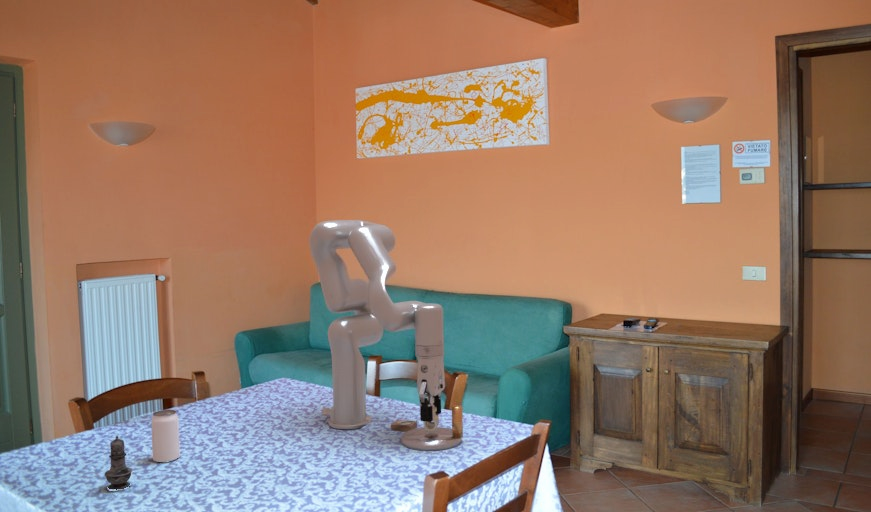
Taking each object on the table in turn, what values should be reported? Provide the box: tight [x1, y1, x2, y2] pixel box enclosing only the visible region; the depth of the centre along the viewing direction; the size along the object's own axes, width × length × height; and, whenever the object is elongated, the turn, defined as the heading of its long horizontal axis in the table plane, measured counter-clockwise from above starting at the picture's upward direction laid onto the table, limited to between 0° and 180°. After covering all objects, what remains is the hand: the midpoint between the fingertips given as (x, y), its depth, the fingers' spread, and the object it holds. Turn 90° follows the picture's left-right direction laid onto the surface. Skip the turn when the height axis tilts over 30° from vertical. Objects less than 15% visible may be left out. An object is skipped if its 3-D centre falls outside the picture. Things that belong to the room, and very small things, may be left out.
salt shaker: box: [104, 435, 133, 490], centre depth 164 cm, size 6×6×12 cm
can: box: [150, 409, 181, 463], centre depth 182 cm, size 6×6×12 cm
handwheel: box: [400, 404, 464, 452], centre depth 190 cm, size 16×16×9 cm
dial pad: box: [390, 419, 418, 432], centre depth 202 cm, size 6×5×3 cm
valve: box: [422, 384, 443, 432], centre depth 190 cm, size 7×7×12 cm
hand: (431, 416), depth 190 cm, fingers closed on valve, 6 cm apart
